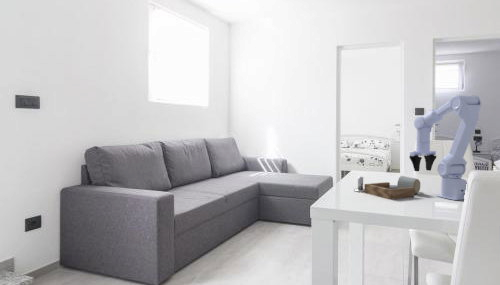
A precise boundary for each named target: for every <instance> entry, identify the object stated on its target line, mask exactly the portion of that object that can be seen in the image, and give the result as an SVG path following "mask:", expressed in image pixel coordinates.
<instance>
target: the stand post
mask: <svg viewBox="0 0 500 285" xmlns="http://www.w3.org/2000/svg"><path fill="white" fill-rule="evenodd" d="M353 192H354V193H355V192H356V193H364V177H363V176H358V177H357V188H354V189H353Z"/></svg>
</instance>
